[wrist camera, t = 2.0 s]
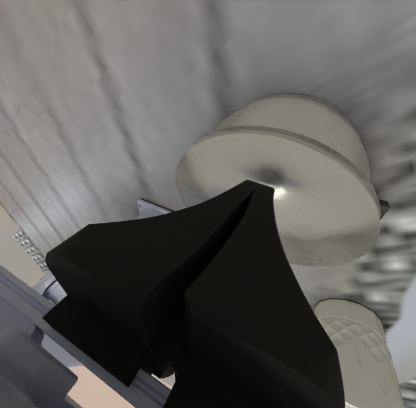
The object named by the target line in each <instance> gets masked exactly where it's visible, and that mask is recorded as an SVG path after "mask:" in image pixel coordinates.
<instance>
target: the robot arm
mask: <svg viewBox="0 0 416 408" xmlns="http://www.w3.org/2000/svg"><path fill="white" fill-rule="evenodd" d="M274 192H275V190H274V188H273V187H270V186H267V185H264V184H260V183H257V182H254V181H250V180H245V181H243V182H241V183H240V184H238V185H236V186H234V187H233V188H231V189H229V190H227V191H225V192H223V193H221V194H219V195H217V196H215V197H213V198H211V199H209V200H207V201H204V202H202V203H199V204H197V205H194V206H191V207H188V208H185V209H182V210H178V211H174V212H171V211H169V210H166V209H164V208H161V207H159V206H156V205H154V204H151V203H149V202H146V201H144V200H141V199H139V200H138V201H137V203H138V209H139V214H140V215H139V216H138V217H137V218H135V219H134V220H129V221H121V222H110V223H99V224H89V225H87V226H86V227H84V228H83V229H81V230H80V231H78V232H77V233H75V234H74V235H73V236H71V237H70V238H68V239H67V240H65V241H64V242H62V243H61V244H60V245H58V246H57V247H55V248H54V249H52V250H51V251H49V252H48V253H47V255H46V260H45V261H46V264H47V266H48V268H49V270H50V271H49V272H48V273H47V274H46V275H45V276H44V277H43V278H41V279H40V281H39V282H38V283H37V284H36V285H35V286H33V287H32V288H31V287H30V286H28V285H27V284H26V283H24V282H23V281H21V280H20V279H19V278H17V277H16V276H14V275H13V274H12V273H11V272H9V271H8V270H6V269H5V268H4V267H2V266H1V265H0V408H82V407H81V406H80V405H79V404H77V403H76V402H75V401H74V400H73V399H71V398H70V397H69V396H68V395H67V393H68V392H69V391H70V389H71V388H72V387H73V386H74V384H75V383H76V382H77V380H78V377H77V376H76V375H75V374H74V373H73V372H72V371H71V370H70V369H69V368H68V367H75V366H82V365H84V366H85V367H86V368H87V369H89V370H90V371H91V372H92V373H94V374H95V375H96V376H97V377H98V378H100V379H101V380H102V381H103V382H105V383H106V384H107V385H108V386H109V387H111V388H112V389H113V390H114V391H116V392H117V393H118V394H119V395H120V396H122V397H123V398H124V399H125V400H127V401H128V402H129V403H130V404H132V405H133V406H134V407H135V408H345V394H344V386H343V380H342V373H341V367H340V362H339V357H338V352H337V349H336V347H335V346H334V344H333V342H332V341H331V339H330V338H329V336H328V335H327V333H326V331H325V330H324V328H323V327H322V325H321V323H320V322H319V320H318V319H317V317H316V315H315V314H314V312H313V310H312V308H311V307H310V305H309V303H308V301H307V299H306V297H305V296H304V294H303V292H302V290H301V288H300V286H299V284H298V282H297V279H296V277H295V275H294V273H293V271H292V269H291V267H290V265H289V262H288V260H287V257H286V254H285V252H284V249H283V246H282V243H281V240H280V236H279V233H278V228H277V224H276V219H275V212H274ZM49 300H51V301H52V302H53V303H54V304H55V305H54V304H53V303H51V302H50V301H49ZM174 372H175V383H174V386H173V388H172V390H170V389H169V388H168V387H166V386H165V385H164V384H162V383H161V382H160V381H158V380H157V379H156V378H154V377H153V376H151V375H152V373H153V374H154V375H156V376H157V377H158V378H166V377H169V376H171V375H173V374H174Z"/></svg>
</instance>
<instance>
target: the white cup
mask: <svg viewBox="0 0 416 408" xmlns="http://www.w3.org/2000/svg"><path fill="white" fill-rule="evenodd" d="M314 314H315V315H316V317H317V319H318V320H319V322H320V323H321V325H322V327H323V328H324V330H325V331H326V333H327V335H328V336H329V338H330V339H331V341H332V342H333V344H334V346H335V347H336V349H337V352H338V357H339V362H340V367H341V373H342V380H343V386H344V394H345V408H404V403H403V399H402V395H401V391H400V387H399V383H398V379H397V376H396V372H395V370H394V367H393V362H392V358H391V354H390V352H389V349H388V347H387V344H386V339H385V335H384V330H383V326H382V322H381V321H380V320H379V318H378V317H377V316H376V315H375V313H374V312H372V311H371V310H369V309H367V308H365V307H364V306H362V305H360V304H357V303H354V302H350V301H347V300H339V299H329V300H325V301H321V302H319V303H318V305H317V306H316V307H315V309H314Z"/></svg>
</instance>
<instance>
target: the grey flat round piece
mask: <svg viewBox="0 0 416 408" xmlns="http://www.w3.org/2000/svg"><path fill="white" fill-rule="evenodd" d="M244 125H249V126H266V127H273V128H279V129H284V130H288V131H291V132H295V133H299V134H302V135H304V136H307V137H309V138H312V139H314V140H317V141H319V142H321V143H323V144H325V145H327V146H328V147H330V148H332V149H334V150H336V151H337V152H339V153H340V154H342V155H343V156H344V157H346V158H347V159H348V160H350V161H351V162H352V163H353V164H354V165H355V166H357V167H358V168H359V169H360V170H361V171H362V172H363V173H364V174H365V176H366V177H367V179H368V180H369V181H370V167H369V162H368V158H367V155H366V152H365V149H364V147H363V144H362V141H361V139H360V136H359V134H358V132H357V130H356V129H355V127H354V125H353V124H352V123H351V121H350V120H349V119H348V118H347V117H346V116H345V115H344V114H343V113H342V112H341V111H339V110H338V109H337V108H336V107H334V106H332V105H331V104H329V103H327V102H325V101H323V100H320V99H318V98H315V97H312V96H307V95H303V94H292V93H288V94H276V95H271V96H267V97H264V98H261V99H258V100H256V101H254V102H252V103H250V104H248V105H246V106H244V107H243V108H241V109H239V110H237V111H236V112H234V113H233V114H231V115H230V116H228V117H227V118H225V119H224V120H223V121H222V122H221V123H220V124H219V125H218V126H217V127H216V129H215V130H219V129H223V128H227V127H233V126H244ZM215 130H214V131H215ZM379 204H380V209H381V211H380V219H381V218H382V217H383V216H384V215H385V213H386V212H387V211H388V210H389V208H390V206H389V203H388V202H387V201H384V200H380V199H379Z"/></svg>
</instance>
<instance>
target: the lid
mask: <svg viewBox="0 0 416 408" xmlns="http://www.w3.org/2000/svg"><path fill="white" fill-rule="evenodd" d="M245 180H250V181H254V182H257V183H260V184H264V185H267V186H270V187H273V188H274V190H275V192H274V212H275V219H276V224H277V228H278V233H279V236H280V240H281V243H282V246H283V249H284V252H285V254H286V257H287V260H288V262H289V263H290V264H295V265H304V266H330V265H338V264H343V263H347V262H350V261H353V260H355V259H357V258H359V257H361V256H363V255H364V254H366V253H367V252H368V251H369V250H370V249H371V248H372V247H373V246H374V244H375V243H376V241H377V238H378V236H379V229H380V211H381V209H380V204H379V198H378V196H377V194H376V192H375V189H374V187H373V185H372V184H371V183H370V181H369V180H368V179H367V177H366V176H365V174H364V173H363V172H362V171H361V170H360V169H359V168H358V167H357V166H355V165H354V164H353V163H352V162H351V161H350V160H348V159H347V158H346V157H344V156H343V155H342V154H340V153H339V152H337V151H336V150H334V149H332V148H330V147H328V146H327V145H325V144H323V143H321V142H319V141H317V140H314V139H312V138H309V137H307V136H304V135H302V134H299V133H295V132H291V131H288V130H284V129H279V128H273V127H266V126H249V125H244V126H233V127H227V128H223V129H219V130H215V131H213V132H210V133H208V134H206V135H204V136H203V137H201V138H199V139H198V140H197V141H195V142H194V143H193V144H192V145H191V146H190V148H189V149H188V150H187V152H186V153H185V154H184V155H183V157H182V158H181V160H180V161H179V163H178V166H177V169H176V184H177V188H178V191H179V194H180V196H181V198H182V200H183V201H184V203H185V204H186V206H187V207H191V206H194V205H197V204H199V203H202V202H204V201H207V200H209V199H211V198H213V197H215V196H217V195H219V194H221V193H223V192H225V191H227V190H229V189H231V188H233V187H234V186H236V185H238V184H240V183H241V182H243V181H245Z"/></svg>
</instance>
